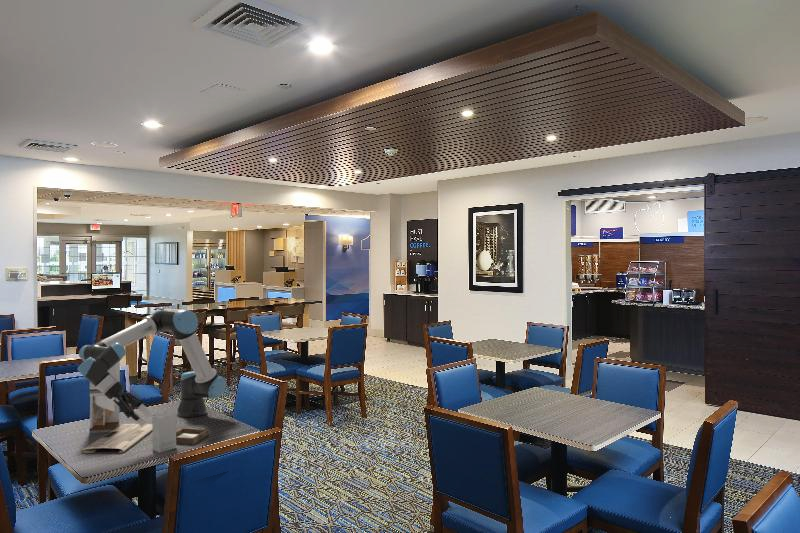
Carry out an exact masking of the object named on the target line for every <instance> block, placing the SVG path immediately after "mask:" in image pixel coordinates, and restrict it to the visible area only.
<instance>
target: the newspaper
mask: <svg viewBox="0 0 800 533" xmlns="http://www.w3.org/2000/svg"><path fill="white" fill-rule="evenodd" d="M152 431H153V430H152V423H145V424H144V425H143V426H142V427H141V426H140V425H139V424H138V423H123V424H119V427H117V428H116V429H114V430H113V431H111V432H107V434H105V435H104V436H101V437H100V438H99V439H97V440H96V441H94V442H93V443H91V444H89V445H87V447H85V448H83V449H82V451H81V453H83V454H89V453H95V452H97V451H98V450H100V449H117V450H118V449H119V451H118V453H121V454H123V453H125V452H126V451H128V450H129V449H130V448H132V447H133V446H134V445H135V444H137V443H138V442H139V441H140V440H142V439H144V438H145V437H146V436H147V435H149V433H151V432H152Z"/></svg>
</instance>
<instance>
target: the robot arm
mask: <svg viewBox="0 0 800 533" xmlns="http://www.w3.org/2000/svg"><path fill="white" fill-rule="evenodd" d="M198 323H199V319H198V317H197V314H196V313H195V312H194V311H193V310H188V309H185V308H183V309H182V308H181V309H177V308H162V309H160V310H158V311H155V312H153V313H151V314H148V315H146V316H144V317H143V318H142V319H141V321H139V322H137V323H135V324H132V325H131V326H128V327H127V328H125V329H122V330H120V331H118V332H117V333H115V334H113V335H111V336H108V337H106V338H103V339H102V340H100V341H98V342H96V343H94V344H85V345H83V346H81V348H80V349H79V352H78V355H79V356H78V357H79V359H80V360H82V361H83V362H81V363H80V365H78V367H77V372H79V374H80V375H82V377H83V378H85V379H86V380H87V381H89V383H90V382H91V383H92V384H93V385H94V386H95V387H96V388H98V389H97V390H100V391H101V392H102V393H104V392H105V396H107V397H108V398H109V399H112V398H113V397H115V399H114V400H113V401H114V402H115V403H116V404H117V405H118V406H119V410H121V411H122V412H123V414H124V415H125V416H126V418H127V419H129V418H131V419H133V421H135V422H136V424H139V425H140V426H141V427H142V426H143V425H144V424H147V422H148V421H147V420H146V419H145V418H143V416H141V415H140V414H139V413H138V412H137V411H135V410H134V409H133V407H132V406H134V407H136V408H137V410H138V411H139V412H141V413H142V415H144V416H145V417H147V418H148V419H149V418H150V417H151V416H152V415H154V413H153V412H152V410H150V409H149V408H148V407H147V406H146V405H145V404H144V401H143V400H142V399H140V398H138V397H136V396H135V395H133V394H132V393H131V392H129V391H127V389H124V388H125V386H124V385H123V384H122V383H121V381H120V382H117V379H116V378H115V377H113V376H112V375H111V374H110V373H109V372H108V370H109V369H110V368H112V367H113V366H114V365H115V364H116V363H118V362H119V361H120V362H121V360H122V359H123V358H124V357H126V355H127V351H126V349H125V347H128V346H129V345H131V344H133V343H134V342H137V341H139V340H141V339H143V338H144V337H147V336H149V335H155V334H157V333H161V332H169V333H171V335H172V336H173V338H174V340H176V341H179V343H180V344H181V347H182V349H183V351H184V354H185V355H186V358H187V360H188V362H189V364H190V366H191V368H192V370H191V371H187V372H183V373H182V374H181V376H180V402H179V404H178V408H177V410H176V411H177V412H176V416H178V417H181V418H195V417H201V416H204V415H206V414H207V412H208V409H207V405H206V402H205V399H204V398H206V399H207V398H208V399H218V398H220V397H221V396H223V395H224V393H225V391H226V388H227V381H226V378H224V376H220V375H219V373H218V372H217V369H215V368H212V365H211V363H210V362H209V359H208V356H207V354H206V353H205V350H204V348H203V346H202V344H201V342H200V339H199V338H198V335H197V331H198V326H199V324H198Z"/></svg>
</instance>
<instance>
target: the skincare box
mask: <svg viewBox="0 0 800 533" xmlns="http://www.w3.org/2000/svg"><path fill="white" fill-rule="evenodd" d="M151 416H152V421H151V422H152V423H151V424H152V430H153V431H151V432H152V451H155V452H157V453H159V454H160V453H163V452H167V451H170V450H173V449H177V443H176V431H177V413H175V412H173V411H172V412H171V411H165V412H162V413H157V414H152V415H151Z"/></svg>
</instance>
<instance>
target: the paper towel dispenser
mask: <svg viewBox="0 0 800 533" xmlns="http://www.w3.org/2000/svg"><path fill="white" fill-rule="evenodd" d="M120 362H121V360H120V361H119V362H118V363H116V364H115V365H114V366H113V367H112V368H110V369H109V370H108V372H109V373H110V374H111V375H112V376H113V377H115V378H116V379H117V382H120V383H121V379H120V378H121V377H120V376H121V374H120V373H121V363H120ZM97 389H98V388H96V387H95V386H94V385H93V384H92V383H91V382H90V381H89V429H88V431H89V434H98V432H99V434H100V432H101V433H110V432H111V431H113V430H114V429H116V428H117V427H118V426H120V407H119V406H118V405H117V404H116V403H115V402H114V401H113V400H114V399H115V397H113V398H112V399H109V398H108V397H107V396H105V392H104V393H102V392H101V391H100V390H97Z"/></svg>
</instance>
